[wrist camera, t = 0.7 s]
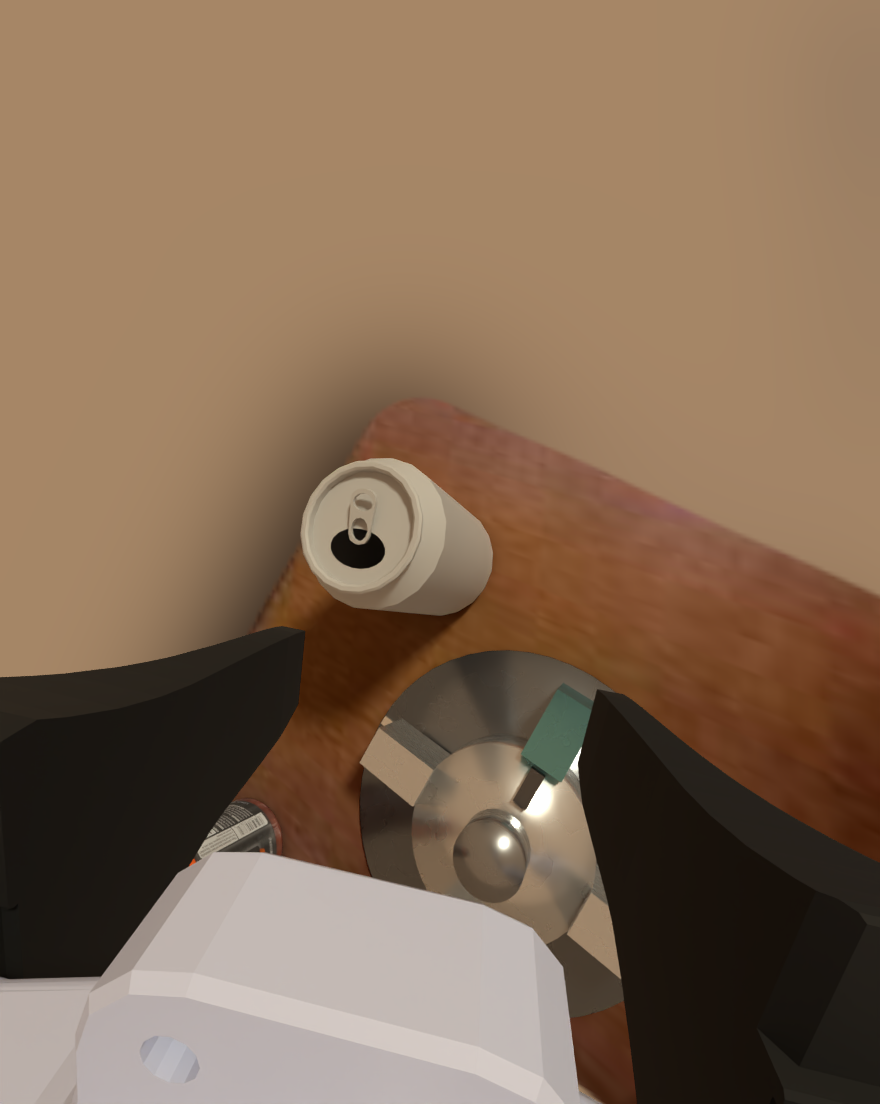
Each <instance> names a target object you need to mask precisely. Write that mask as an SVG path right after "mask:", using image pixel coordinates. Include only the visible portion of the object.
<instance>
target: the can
mask: <svg viewBox="0 0 880 1104" xmlns="http://www.w3.org/2000/svg"><path fill="white" fill-rule="evenodd" d="M300 535H301V542H302V548H303V554H304V557H305V559H306V561H307V563H308V565H309V567H310V569H311V571H312V572H313V573H314V574H315V575H316V577H317V579H318V581H319V583H320V584H321V585H322V586H323V587H324V588H325V589H326V590H327V591H328V592H329V593H330V594H331V595H332V596H333V597H334V598H335V599H337V600H339V601H341V602H343V603H345V604H347V605H349V606H351V607H353V608H363V609H374V610H384V611H395V612H405V613H416V614H427V615H438V616H443V615H447V614H451V613H455V612H458V611H460V610H461V609H463V608H465V607H466V606H468V605H469V604H471V603H472V602H474V600H475V599H476V598H477V597H478V595H479V594H480V593H481V592H482V591H483V589H484V588H485V586H486V583H487V581H488V579H489V576H490V574H491V571H492V558H493V551H492V547H491V543H490V539H489V535H488V534H487V532H486V530H485V529H484V527H483V526H482V524H481V522H480V521H479V520H478V519H477V518H475V517H474V516H473V515H472V514H471V513H469V512H468V511H467V510H466V509H465V508H464V507H462V506H461V505H460V504H459V503H458V502H456V501H455V500H454V499H453V498H452V497H451V496H449V495H448V494H447V493H446V492H445V491H443V490H442V489H441V488H440V487H439V486H437V485H436V484H435V483H434V482H433V481H432V480H430V479H429V478H428V477H427V476H425V475H424V474H423V473H422V472H420V471H419V470H418V469H417V468H415V467H414V466H413V465H411V464H408V463H405V462H402V461H399V460H396V459H393V458H382V459H369V460H366V461H356V462H353V463H351V464H348V465H345V466H342V467H340V468H338V469H337V470H335V471H334V472H333V473H331V474H330V475H329V476H327V477H326V478H325V479H323V481H322V482H321V483H320V484H319V486H318V487H317V488H316V490H315V491H314V492H313V494H312V495H311V497H310V499H309V501H308V504H307V506H306V509H305V511H304V514H303V519H302V527H301V534H300Z"/></svg>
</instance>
